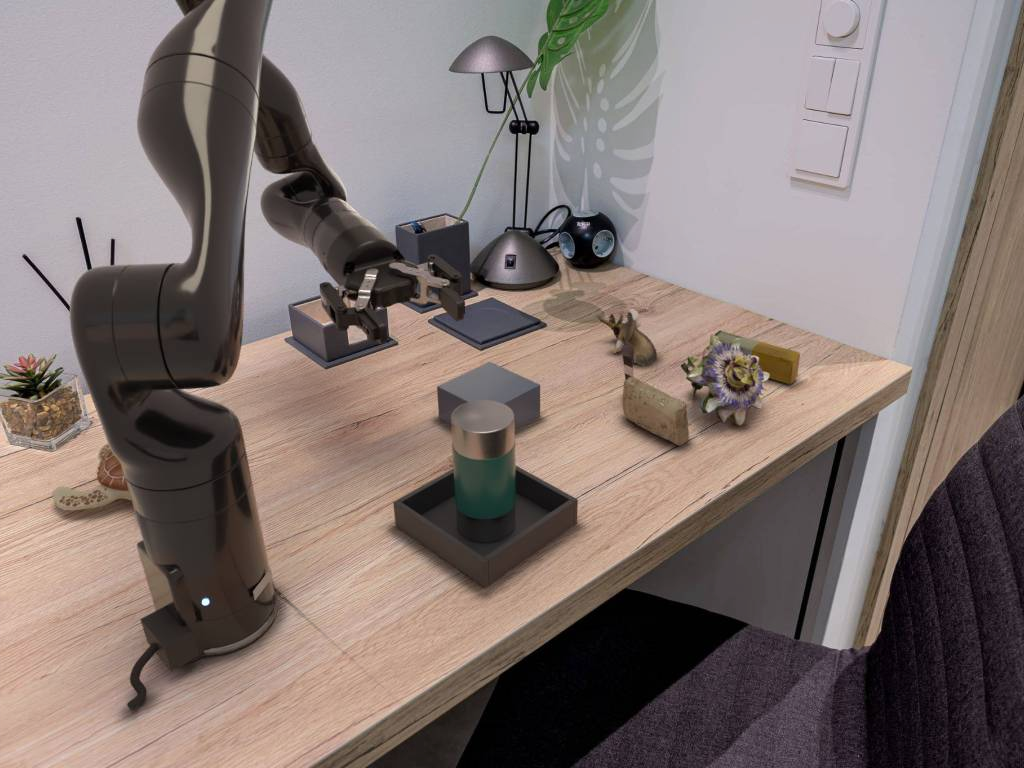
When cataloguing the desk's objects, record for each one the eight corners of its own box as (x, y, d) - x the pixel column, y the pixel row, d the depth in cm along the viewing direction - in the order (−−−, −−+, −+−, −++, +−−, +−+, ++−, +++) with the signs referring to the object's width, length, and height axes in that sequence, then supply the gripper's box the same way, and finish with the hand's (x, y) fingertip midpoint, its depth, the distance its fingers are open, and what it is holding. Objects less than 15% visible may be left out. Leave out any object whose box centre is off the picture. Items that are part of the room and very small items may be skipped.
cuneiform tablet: (628, 398, 107) (702, 434, 99) (604, 416, 105) (678, 454, 97) (623, 354, 103) (700, 388, 95) (598, 371, 101) (675, 407, 93)
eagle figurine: (584, 339, 120) (615, 354, 112) (605, 295, 120) (638, 306, 112) (623, 358, 124) (656, 373, 116) (643, 315, 123) (678, 327, 115)
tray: (484, 592, 76) (483, 563, 75) (395, 529, 85) (392, 501, 83) (577, 526, 85) (578, 499, 83) (488, 475, 93) (487, 449, 91)
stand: (488, 448, 98) (487, 412, 95) (438, 420, 103) (436, 386, 101) (540, 419, 103) (540, 384, 101) (490, 394, 109) (489, 361, 106)
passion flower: (731, 458, 105) (719, 418, 95) (667, 412, 111) (649, 370, 101) (788, 394, 106) (781, 348, 96) (721, 352, 112) (709, 305, 102)
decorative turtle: (57, 553, 82) (43, 513, 79) (54, 468, 95) (42, 431, 92) (243, 501, 89) (235, 463, 87) (217, 429, 102) (209, 394, 100)
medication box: (708, 361, 116) (710, 337, 114) (718, 353, 118) (719, 328, 116) (790, 385, 109) (793, 360, 107) (799, 376, 111) (802, 351, 109)
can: (485, 552, 81) (481, 440, 74) (444, 524, 84) (437, 416, 78) (528, 523, 84) (528, 414, 78) (487, 498, 88) (483, 393, 82)
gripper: (291, 239, 87) (353, 310, 76) (412, 211, 93) (485, 273, 83) (300, 300, 92) (360, 375, 81) (415, 269, 98) (484, 335, 87)
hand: (423, 324), depth 82 cm, fingers open, 8 cm apart
